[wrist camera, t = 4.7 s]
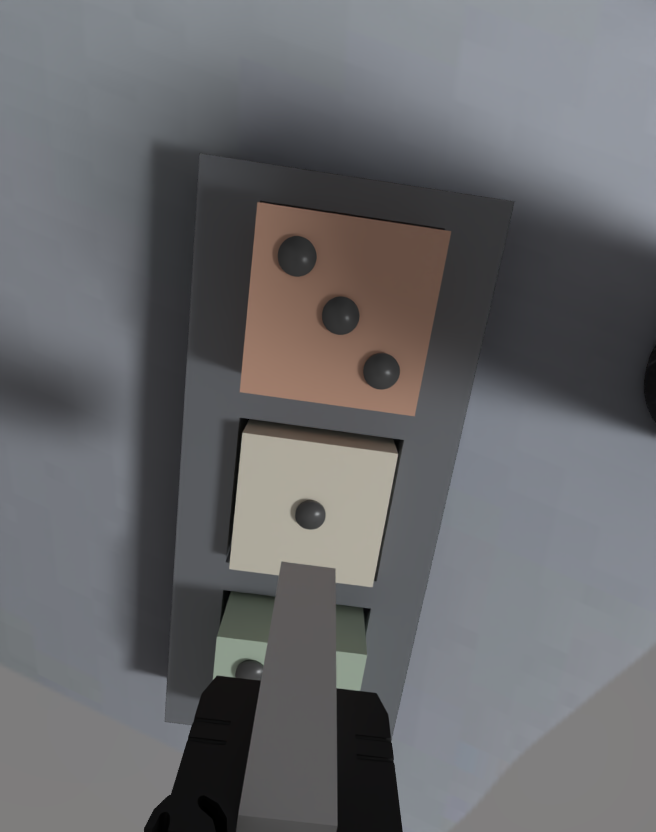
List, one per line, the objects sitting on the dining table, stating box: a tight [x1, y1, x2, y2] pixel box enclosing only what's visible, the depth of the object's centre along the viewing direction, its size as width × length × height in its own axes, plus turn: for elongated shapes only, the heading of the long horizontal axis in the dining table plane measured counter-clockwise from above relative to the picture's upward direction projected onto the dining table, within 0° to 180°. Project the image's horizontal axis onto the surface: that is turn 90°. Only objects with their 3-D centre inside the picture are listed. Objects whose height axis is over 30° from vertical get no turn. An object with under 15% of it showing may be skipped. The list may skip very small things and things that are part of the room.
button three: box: [240, 202, 451, 416], centre depth 18 cm, size 6×6×3 cm
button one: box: [229, 419, 398, 587], centre depth 21 cm, size 6×6×3 cm
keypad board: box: [165, 153, 514, 740], centre depth 22 cm, size 25×11×2 cm, turn 172°
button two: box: [213, 591, 367, 691], centre depth 22 cm, size 6×6×3 cm
